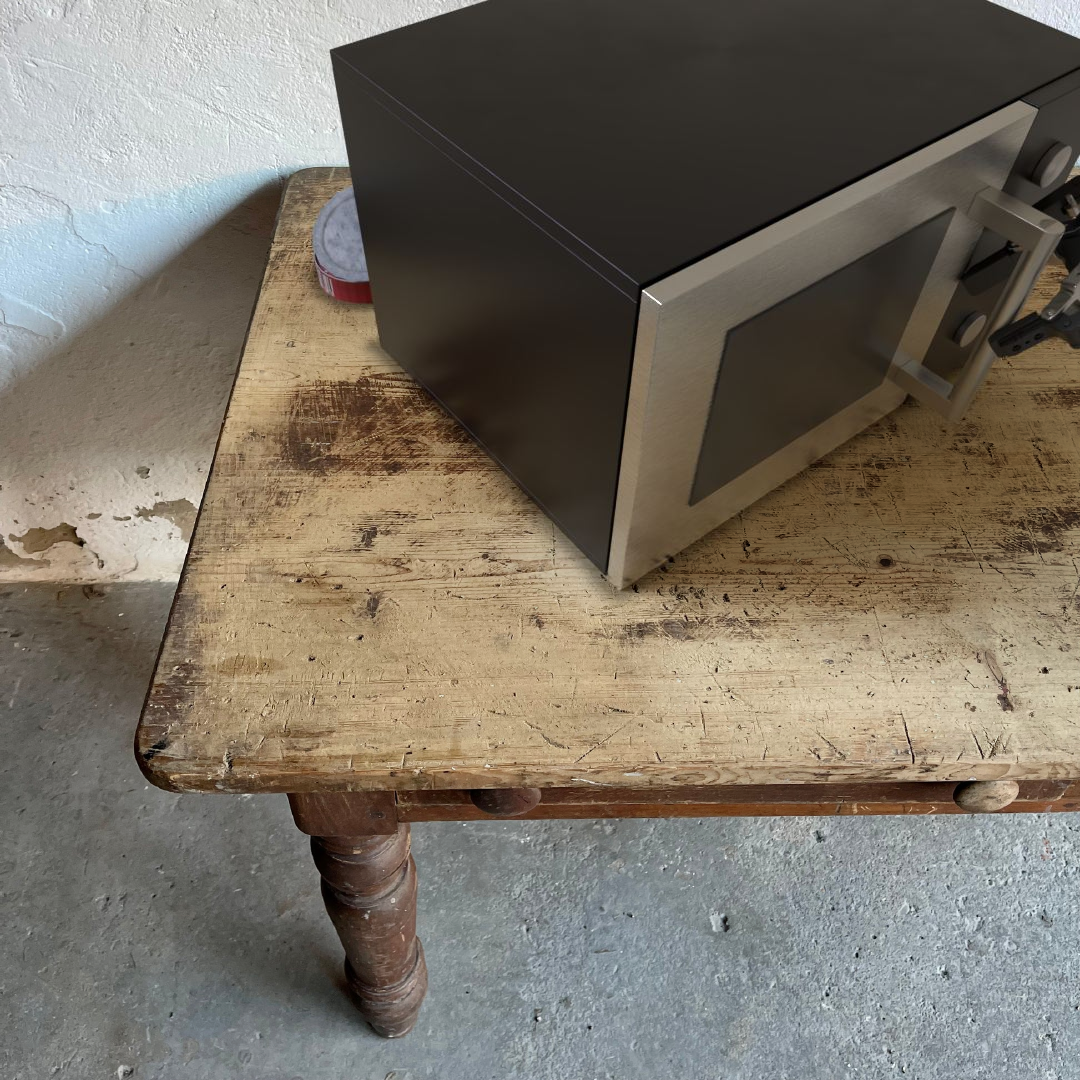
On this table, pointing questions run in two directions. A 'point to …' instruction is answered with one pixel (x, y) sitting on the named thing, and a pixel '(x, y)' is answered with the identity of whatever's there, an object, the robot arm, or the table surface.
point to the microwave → (643, 184)
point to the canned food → (341, 250)
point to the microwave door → (812, 336)
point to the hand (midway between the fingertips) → (979, 317)
